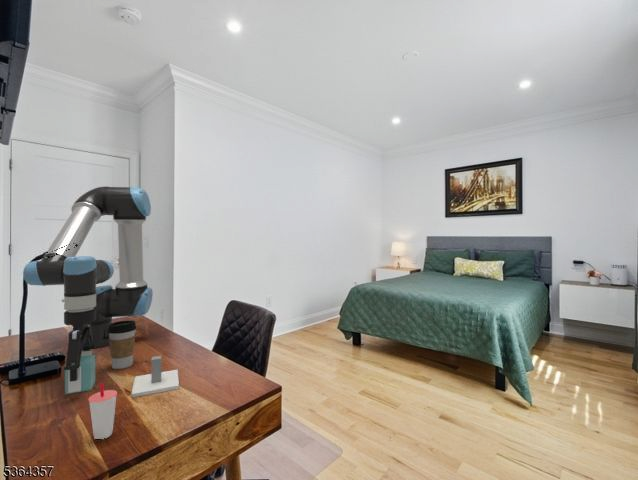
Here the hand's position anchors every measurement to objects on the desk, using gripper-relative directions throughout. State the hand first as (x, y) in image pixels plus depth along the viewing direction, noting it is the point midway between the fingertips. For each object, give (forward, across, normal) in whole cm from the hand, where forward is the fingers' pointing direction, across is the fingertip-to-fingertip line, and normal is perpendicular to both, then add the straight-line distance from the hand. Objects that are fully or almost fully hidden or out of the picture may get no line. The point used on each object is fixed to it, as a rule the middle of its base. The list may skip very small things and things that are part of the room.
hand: (80, 381), depth 92 cm
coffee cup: (+2, -13, +9) cm, 16 cm away
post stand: (+2, +7, +20) cm, 21 cm away
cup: (+2, +29, +10) cm, 31 cm away
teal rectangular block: (+2, 0, 0) cm, 2 cm away
